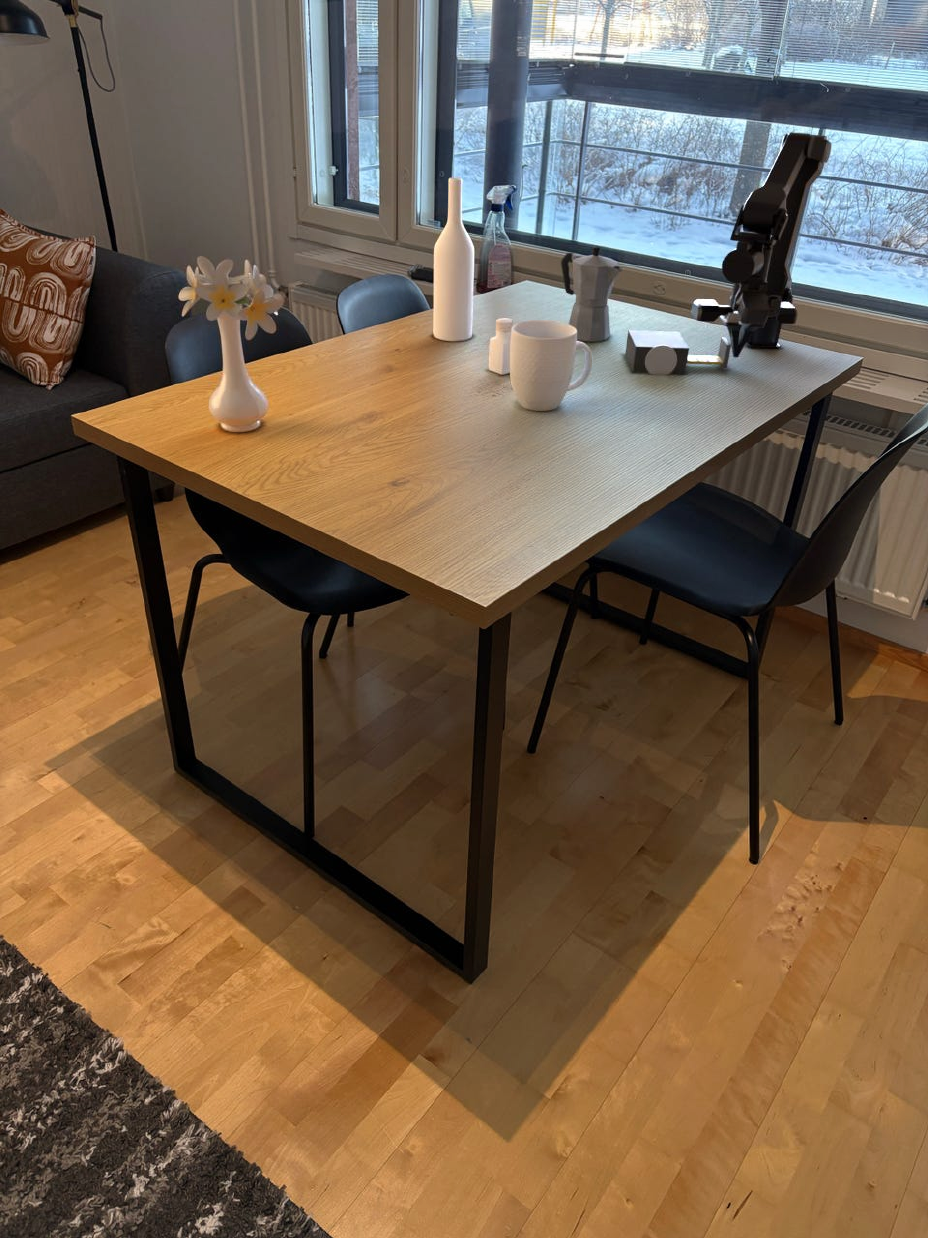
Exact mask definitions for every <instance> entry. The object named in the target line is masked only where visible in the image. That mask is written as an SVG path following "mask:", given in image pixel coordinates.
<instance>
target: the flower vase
mask: <svg viewBox="0 0 928 1238" xmlns="http://www.w3.org/2000/svg"><path fill="white" fill-rule="evenodd" d="M196 262H197V266H196V267H195V270H194V271H193V268H192V267H191V265H188V266H187V267H186V280H187V283H188V285H189V286H185V287H183V288H181V290H180V291H179V294H178V299H179V301H182V302H184V301H186V303H185V304H184V305H183V309H182V312H181V316H182V317H184V316H186V314H187V313H188V312H189V311H190V309H191V308H192V307H193V306H194V305H195V304H196V303H197V302H198V301H199V300H201V299H203V300H204V301H207V302H209V303H210V304H209V305H208V307H207V309H206V314H205V316H206V320H208V321H210V322H214V321H216V320H217V324H218V328H219V334H220V343H221V355H222V373H221V378H220V381H219V384H218V385H217V387H216V388H215V389H214V390H213V392H212V393H211V395H210V396H209V399H208V405H207V406H208V407H207V408H208V411H209V413H210V415H211V416H212V417H213V418H214V419H215V421H217V422H219V423H220V427H221V428H222V429H223V430H225V431H227V432H230V433H246V432H251V431H254V430H257V429H258V428H259V427H260V425H261V420H262V419H263V418H264V417H265V416H266V415H267V412H268V410H269V408H270V407H269V401H268V398H267V396H266V394H265V393H264V392H263V391H262V389H261V388H260V387H258V386H257V385H256V384H255V383H254V382H253V380H252V379H251V377H250V375H249V373H248V371H247V368H246V363H245V358H244V351H243V344H242V335H241V321H246V327H245V332H244V333H245V334H244V335H245V339H246V340H247V341H251V340H252V339H253V338H255V336H256V334H257V332H258V329H259V327H260V328H261V329H262V330H263V331H264V332H266V333H268V334H274V333H275V332H276V331H277V325H276V322H275V321H274V319H273V317H271V316H270V315H269V314H274V315H275V316H278V315H279V313H278V311H279V310H280V309H281V308H282V307H283V305H284V301H283V300H282V299H281V298H280V299H271V298H272V297H273V296H274V294H275V293H274V290H273V288H272V287H271V285H269V284H267V278H266V276H265V275H264V274H262V273H260V270H259V268H258V266H257V265H255V264H254V265H253V268H252V265H251V263H250V261H249V260H248V259H245V260H244V274H241V275H237V276H234V277H232V276H229V274H230V273H231V271H232V270H233V266H234V262H233V260H232V259H228V258H227V259H224V260H222V261H221V262H220V263H218V265H217V266H216V268H215V266H214V265H213V264H212V262H211V261H210V260H209V259H208V258H207V257H205V256H202V255H200V256H198V257H197V259H196ZM199 269H200V271H201V273H202V274H201V273H200V271H199ZM241 282H242V283H241ZM270 299H271V300H270ZM249 300H251V301H252V302H251V303H249V302H247V301H249ZM243 305H244V306H246V307H244V306H243Z"/></svg>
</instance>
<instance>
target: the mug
mask: <svg viewBox="0 0 928 1238" xmlns="http://www.w3.org/2000/svg"><path fill="white" fill-rule="evenodd" d="M510 343H511V344H510V373H509V376H510V378H509V379H510V383H511V387H512V391H513V394H514V396H515V398H516V400H517V403H519V405H520V406H521V407H522V408H524V409H526V410H529V411H533V412H547V411H552V410H555V409H557V408H558V407H559V406H560V404H561V403H562V401H563V400H564V398H565V397H566V394H567V392H570V391H573V390H575V389H578V388H579V387H581V386H582V385H584V383H585V382H586V381H587V379H588V378H589V377H590V374H591V372H592V367H593V355H592V351H591V349H590V347H589V346H588V345H587V344H586V343H584V341H580V340H577V329H576V328H575V327H573V326H571V325H569V323H566V322H562V321H556V320H555V321H554V320H546V319H545V320H542V319H541V320H540V319H539V320H537V319H534V320H526V321H520V322H517V323H514V324H513V327H512V330H511V342H510ZM577 349H582V350H583V352H584V354H585V364H584V368H583V371H582V373H581V375H580V376H579V377H578V378H577V379H576V380H574V381H573V382H572V381H571V380H572V377H573V371H574V368H575V362H576V354H577Z"/></svg>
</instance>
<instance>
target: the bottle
mask: <svg viewBox="0 0 928 1238" xmlns="http://www.w3.org/2000/svg"><path fill="white" fill-rule="evenodd" d="M447 199H448V201H447V202H448V203H447V222H446V224H445V226H444V228H443V230H442V231H441V233H440V235H439V237H438V238H437V240H436V242H435V244H434V248H433V318H432V319H433V330H432V331H433V337H434V338H435V339H438V340H441V341H445V342H446V341H447V342H462V341H467V340H469V339H471V338H472V335H473V315H474V314H473V310H474V309H473V308H474V280H475V279H474V278H475V247H474V244H473V241H472V239H471V237H470V236H469V234H468V232H467V230H466V227H465V226H464V223H463V178H461V177H449V178H448V198H447Z"/></svg>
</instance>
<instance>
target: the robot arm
mask: <svg viewBox="0 0 928 1238" xmlns="http://www.w3.org/2000/svg"><path fill="white" fill-rule="evenodd" d="M780 145H781V146H780V149H779V153H778V154H777V157H776V159H775V161H774V163H773V164H772V167H771V169H770V171H769V173H768V175H767V177H766V179H765V180H764V183H763V185H762V186H760V187H758V188H756V189H755V190H753V191H752V192H751V193H750V195H749V196H748V198H747V200H746V201H745V203H743V204H742V205H741V207H740V210H739V213H738V215H737V218H736V221H735V223H734V226H733V230H732V232H731V235H730V238H729V241H733V242H736V247H735V248H734V249H732V250H731V251H730V252H728V253H727V254H726V255H725V256H724V259H723V260H722V264H721V271H722V275H723V277H724V278H725V279H726V280H727V281H728V282H730V283H732V289H731V295H730V297H729V298H728V299H729V300H728V303H729V305H727V304H726V305H723V304H719V303H718V302H717V301H716V300H715V299H704V298H701V299H700V298H697V299H695V300H694V301H693V303H692V308H691V316H692V317H693V318H694V319H695V321H697V322H705V323H706V322H708V323H709V322H711V323H714V322H716V320H719V319H720V320H721V322H722V324H724V325H725V327H726V329H727V333H728V335H729V336H728V337H729V341H730V342H729V343H730V344H731V348H730V349H731V354H732V357H733V358H738V357H740V354H741V353H742V352H743V350H744V348H745V346H746V345H747V347H748V348H760V349H761V348H763V349H780V348H781V345H780V344H779V339H780V335H781V332H782V331H781V330H782V326H783V325H795V324H796V323H797V318H798V309H796V307H795V306H794V296H793V289H792V288H791V287H792V283H793V278H792V276H791V272H790V269H789V263H790V259H791V256H792V252H793V248H794V245H795V240H796V237H797V233H798V230H799V227H800V222H801V220H802V219H801V218H802V215H803V211H804V207H805V203H806V201H807V200H806V199H807V197H808V194H809V193H808V192H809V189H810V187H811V186H812V185H813V184H814V183H815V181H817V179H818V178H819V177H820V176H821V175H822V173H823V171H824V167H825V164H827V163H828V161H829V159H830V156H831V152H832V147H833V146H832V145H833V144H832V142H831V141H829V140H828V136H827V135H820V134H819V135H818V134H811V133H805V132H793V131H792V132H789V133H785V134H784V135H783V137H782V141H781V144H780ZM741 230H742V231H741Z"/></svg>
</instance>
